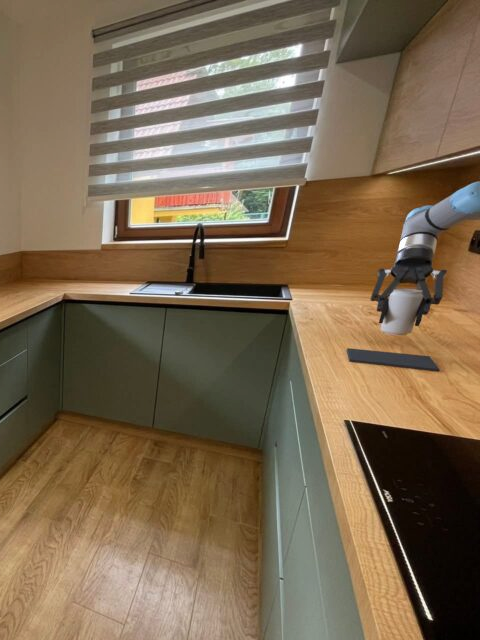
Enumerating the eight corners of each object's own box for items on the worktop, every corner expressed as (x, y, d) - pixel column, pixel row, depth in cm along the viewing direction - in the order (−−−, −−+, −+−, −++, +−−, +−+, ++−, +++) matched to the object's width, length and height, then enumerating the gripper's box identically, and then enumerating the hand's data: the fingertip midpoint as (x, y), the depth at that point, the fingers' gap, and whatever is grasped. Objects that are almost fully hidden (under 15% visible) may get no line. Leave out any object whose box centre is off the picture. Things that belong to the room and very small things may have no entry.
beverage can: (404, 331, 121) (417, 288, 117) (415, 336, 115) (429, 291, 111) (375, 330, 123) (387, 288, 119) (384, 335, 118) (397, 291, 114)
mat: (428, 358, 108) (429, 356, 108) (439, 371, 100) (439, 369, 99) (346, 350, 118) (347, 348, 117) (349, 361, 109) (349, 359, 109)
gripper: (460, 264, 118) (447, 333, 112) (366, 263, 130) (350, 325, 125) (470, 245, 112) (456, 317, 107) (371, 246, 125) (354, 310, 119)
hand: (399, 321), depth 116 cm, fingers closed on beverage can, 6 cm apart
